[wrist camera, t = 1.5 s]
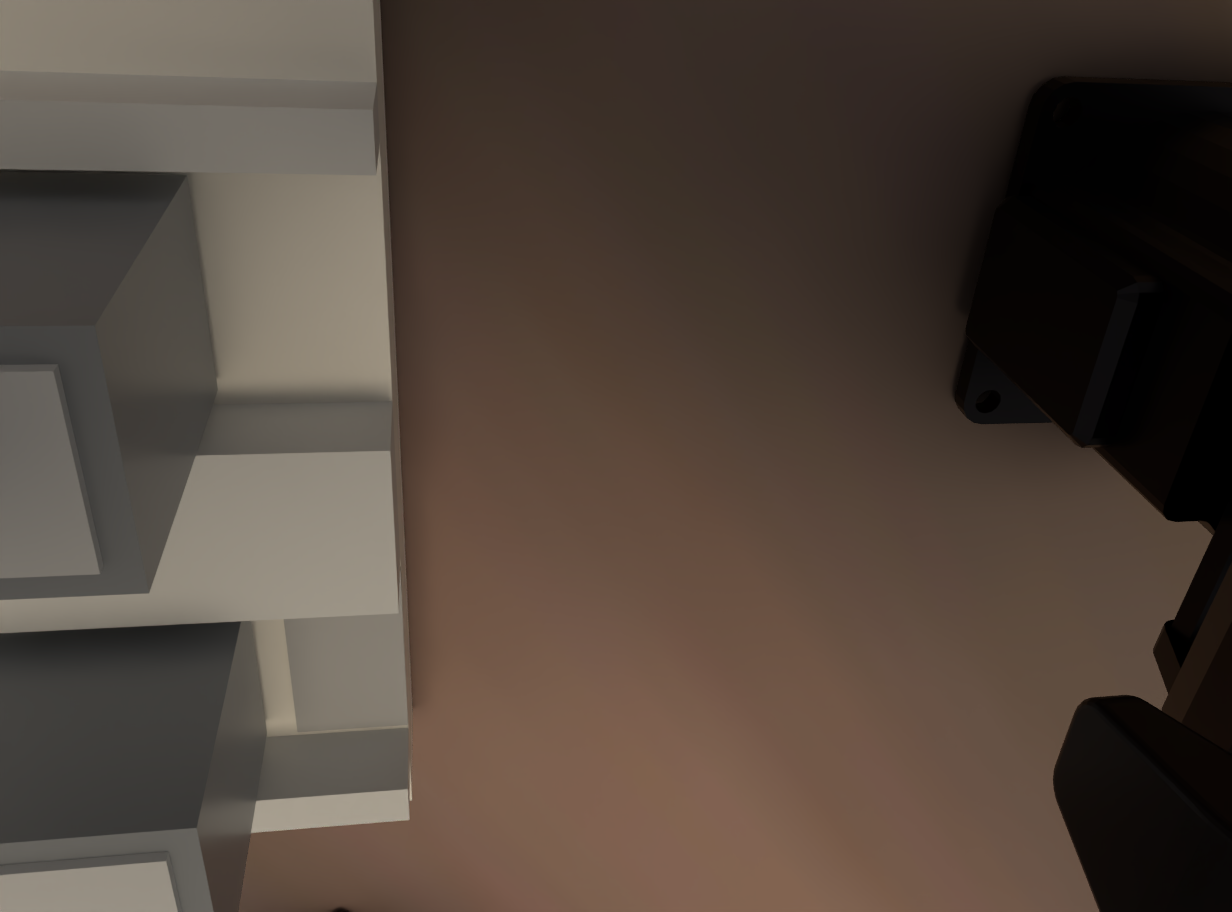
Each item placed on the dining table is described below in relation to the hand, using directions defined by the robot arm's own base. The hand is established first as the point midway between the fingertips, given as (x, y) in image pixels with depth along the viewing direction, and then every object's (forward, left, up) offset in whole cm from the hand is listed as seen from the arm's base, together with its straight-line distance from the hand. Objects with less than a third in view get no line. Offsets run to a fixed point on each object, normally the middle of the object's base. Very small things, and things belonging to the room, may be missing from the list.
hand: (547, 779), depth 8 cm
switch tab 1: (+6, 0, -9) cm, 11 cm away
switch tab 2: (+6, +7, -9) cm, 13 cm away
